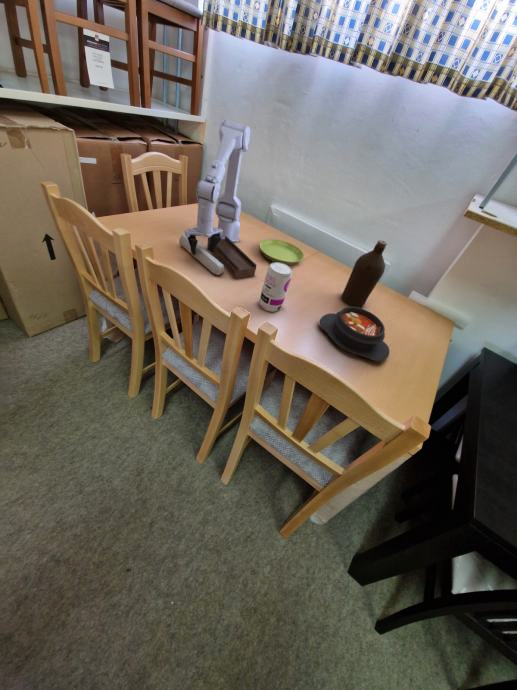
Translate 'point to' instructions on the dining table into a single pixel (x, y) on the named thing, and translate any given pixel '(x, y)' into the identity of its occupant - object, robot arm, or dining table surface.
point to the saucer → (281, 251)
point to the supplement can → (275, 286)
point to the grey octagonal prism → (203, 256)
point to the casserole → (357, 332)
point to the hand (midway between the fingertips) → (202, 253)
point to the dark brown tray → (235, 258)
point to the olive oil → (364, 276)
